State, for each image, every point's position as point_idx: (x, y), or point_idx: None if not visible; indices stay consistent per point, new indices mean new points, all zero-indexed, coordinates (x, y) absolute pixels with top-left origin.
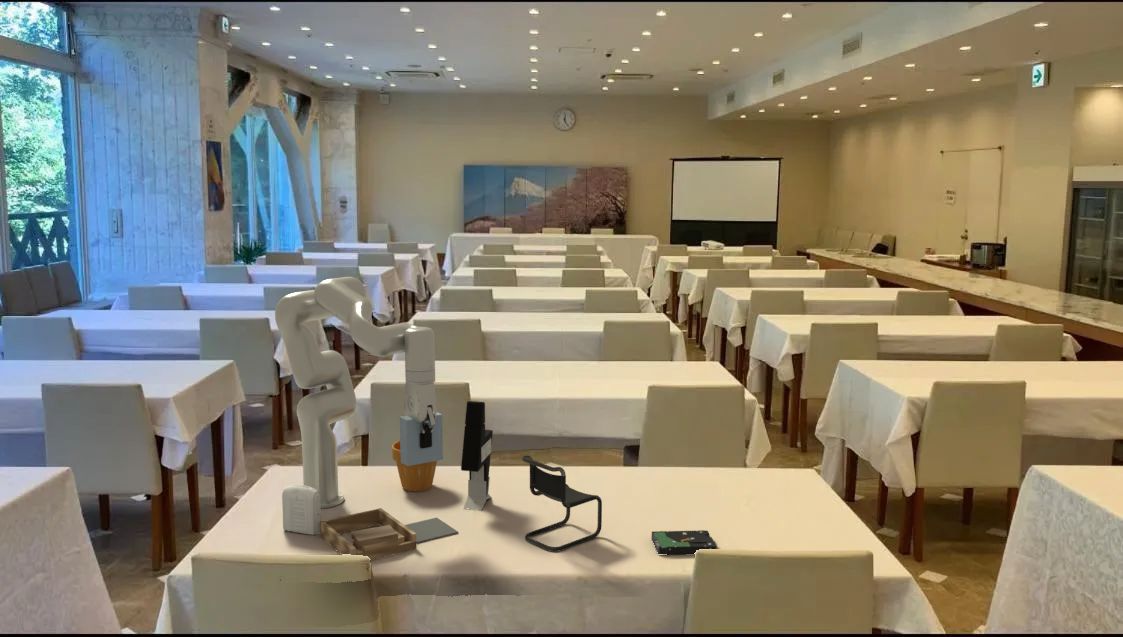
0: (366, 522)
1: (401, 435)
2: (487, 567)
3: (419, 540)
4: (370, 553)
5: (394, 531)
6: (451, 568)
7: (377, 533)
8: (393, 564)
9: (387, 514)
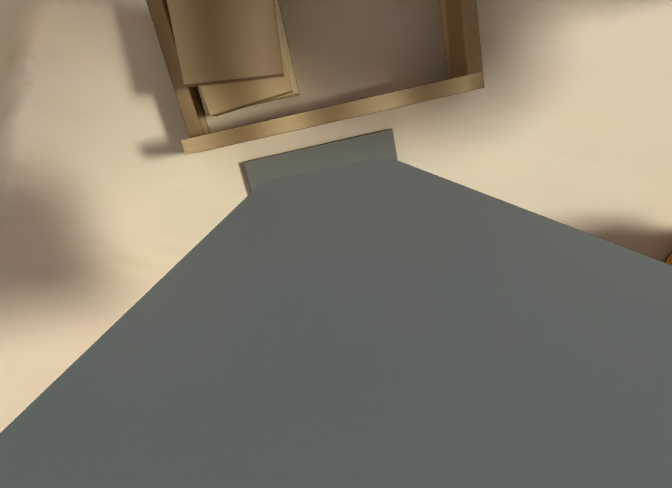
0: (448, 25)
1: (415, 200)
2: (22, 304)
3: (252, 173)
4: None
5: (209, 76)
6: (32, 213)
7: (206, 2)
8: (97, 47)
9: (408, 96)
